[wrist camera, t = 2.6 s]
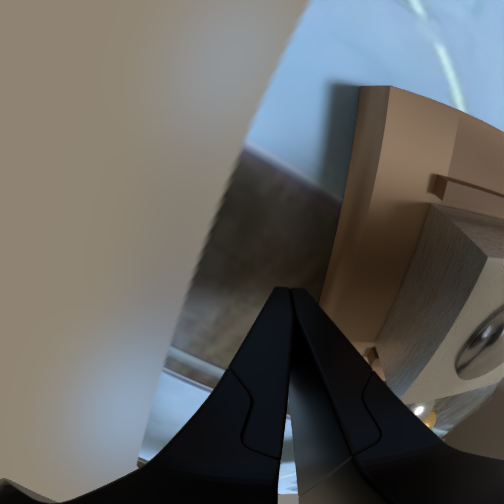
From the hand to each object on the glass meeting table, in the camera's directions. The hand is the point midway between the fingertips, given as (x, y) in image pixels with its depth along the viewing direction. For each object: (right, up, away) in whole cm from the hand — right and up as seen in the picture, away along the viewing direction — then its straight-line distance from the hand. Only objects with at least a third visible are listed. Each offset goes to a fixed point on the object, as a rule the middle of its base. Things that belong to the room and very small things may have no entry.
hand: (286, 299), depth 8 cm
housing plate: (+9, +1, +3) cm, 10 cm away
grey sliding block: (+7, 0, +1) cm, 7 cm away
